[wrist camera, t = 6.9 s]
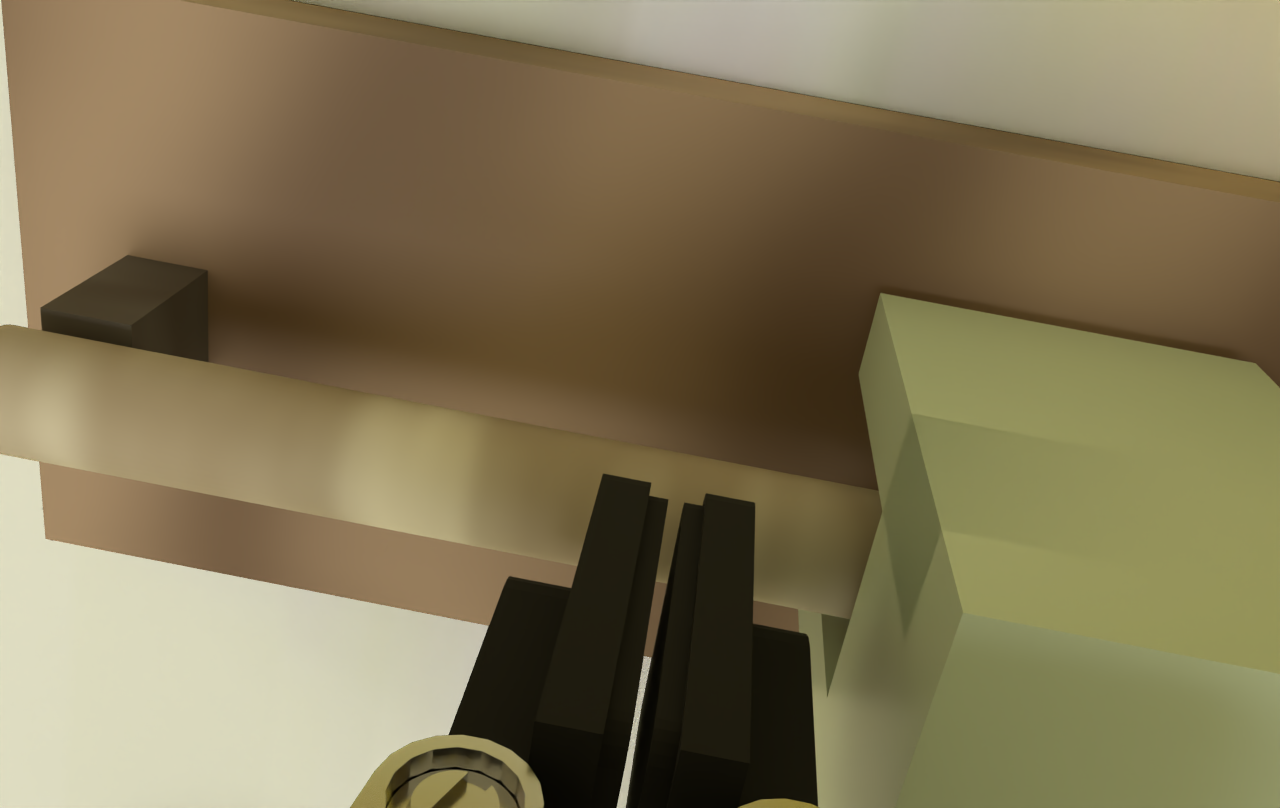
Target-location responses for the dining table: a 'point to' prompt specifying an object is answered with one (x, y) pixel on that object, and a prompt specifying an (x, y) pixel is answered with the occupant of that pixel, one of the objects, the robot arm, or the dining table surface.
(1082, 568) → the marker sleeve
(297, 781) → the dining table surface
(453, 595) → the rail
